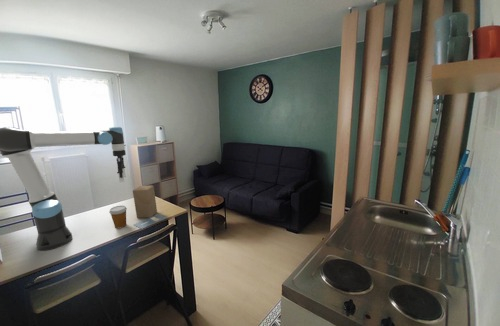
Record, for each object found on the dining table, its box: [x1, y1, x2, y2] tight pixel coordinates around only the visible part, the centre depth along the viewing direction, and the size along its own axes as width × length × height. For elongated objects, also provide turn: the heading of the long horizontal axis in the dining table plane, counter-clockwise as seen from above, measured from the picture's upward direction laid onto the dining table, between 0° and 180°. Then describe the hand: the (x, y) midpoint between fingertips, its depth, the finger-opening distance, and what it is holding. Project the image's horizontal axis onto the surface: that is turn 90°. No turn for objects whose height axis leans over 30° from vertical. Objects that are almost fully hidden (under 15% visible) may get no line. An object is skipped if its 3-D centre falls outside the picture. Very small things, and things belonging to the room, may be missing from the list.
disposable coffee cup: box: [109, 204, 128, 229], centre depth 139 cm, size 10×10×12 cm
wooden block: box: [132, 185, 158, 219], centre depth 153 cm, size 10×10×20 cm
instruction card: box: [133, 213, 168, 230], centre depth 146 cm, size 18×10×1 cm, turn 145°
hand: (122, 179), depth 155 cm, fingers open, 13 cm apart
